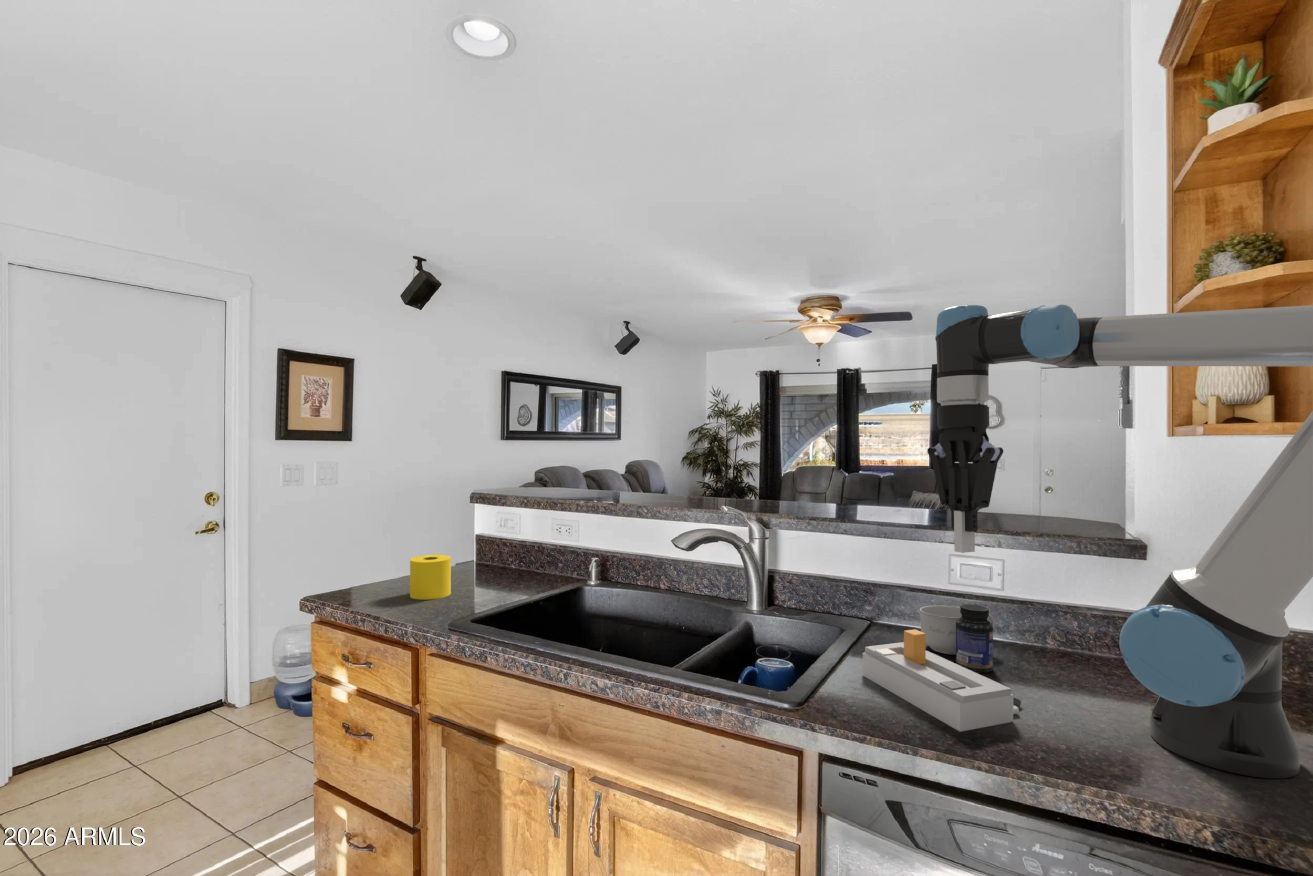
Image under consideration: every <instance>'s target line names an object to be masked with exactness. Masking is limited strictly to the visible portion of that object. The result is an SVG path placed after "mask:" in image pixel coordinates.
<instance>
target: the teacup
mask: <svg viewBox="0 0 1313 876" xmlns="http://www.w3.org/2000/svg"><path fill="white" fill-rule="evenodd" d="M919 613H920V617H919V618H920V619H919V620H920V622H919V623H920V631H921V632H923V633H925V634H926V646H927V645H928V646H929V647H930V649H931V650H933V652H934V651H935V652H936V653H937V652H938V653H940V654H946V655H955V656H956V621H957V619H959V618H961V617H962V614H961V613H960V607H959V606H951V605H940V604H939V605H927V606H922V607H920V608H919ZM987 620H988V621H989V622H990V623H991V624H992V625H993V629H995V625H996V623H995V618H994V617H993V616H992V614H990V613H989V616H988V617H987Z"/></svg>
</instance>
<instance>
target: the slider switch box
mask: <svg viewBox="0 0 1313 876" xmlns="http://www.w3.org/2000/svg"><path fill="white" fill-rule="evenodd" d="M862 676H863V677H865V678H866V679H868V680H870V681H871V682H874V684H877V685H878V686H879V687H882V688H883V689H886V690H887V691H888V692H891V693H892V694H893V695H896V696H897V697H899V698H901V699H903V700H904V701H906V702H908V703H910V704H911V705H913V706H915V707H916V708H918V709H920V710H922V711H923V712H925V713H927V714H928V715H930V716H931V717H934V718H935V719H937V720H939V721H940V722H942V723H944V724H946V725H947V726H949V727H950V728H952V729H954V730H956V731H957V732H967V731H971V730H975V729H982V728H987V727H992V726H999V725H1004V724H1008V723H1013V722H1014V715H1013V697H1014V694H1012V688H1011V687H1008V686H1006V685H1003V684H1002V683H999V682H997V681H995V680H993V679H991V678H988V677H986V676H984V675H981V673H980V674H979V673H978V672H973V671H971V670H969V669H966V668H964V667H962V666H960V665H957V664H956V662H955V663H954V662H953V661H951V660H948V659H946V658H944V657H942V656H940V655H938V654H935V653H933V652H930V651H929V650H926V660H925V664H917V663H915V662H913V661H911V660H909V659H907V658H905V657H904V641H902V642H894V643H893V642H892V643H885V644H876V645H870V646H865V647H864V652H862Z"/></svg>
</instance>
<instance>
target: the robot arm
mask: <svg viewBox="0 0 1313 876" xmlns="http://www.w3.org/2000/svg"><path fill="white" fill-rule="evenodd" d="M935 333H936V334H935V336H934V337H935V338H934V339H935V342H936V343H935V344H936V368H937V369H936V370H937V371H936V373H937V374H936V402H937V403H938V404H940V406H938V408H937V409H936V410H937V411H936V412H937V414H936V415H937V417H936V418H937V423H936V424H937V428H938V429H940V435H939V438H938V443H937V444H936V445H935V446H933V447H928V448H927V451H926V452H927V454H928V457H929V458H930V460H931V462H932V468H933V472H934V477H935V483H936V488H937V492H938V493H937V494H938V497H939V498H938V499H939V503H940V504H941V505H942V506H946V507H948V508H949V510H950V517H951V518H950V519H951V521H950V523H951V524H950V525H951V529H952V530H954V531H953V533H954V535H953V536H954V537H953V538H954V539H953V540H954V542H953V543H954V545H953V547H954V552H956V553H962V554H963V553H972V552H976V549H975V548H976V547H975V545H976V544H975V542H976V541H975V539H976V538H975V537H976V536H975V532H977V531H978V512H979V511H980V510H982V509H987V508H989V507H990V504H991V498H992V493H993V488H994V484H995V483H994V482H995V478H996V473H997V468H998V463H999V461H1000V459H1001V457H1002V456H1003V453H1004V449H1003V447H1000V446H999V447H997V446H995V445H993V444H992V443H991V442H990V438H989V436H988V433H987V428H989V427H990V406H988V404H985V402H988V401H989V400H990V399H989V395H990V394H989V393H990V392H989V391H990V390H989V389H990V388H989V387H990V386H989V371H990V370H989V369H990V368H989V367H990V365H999V364H1006V363H1016V362H1017V363H1018V362H1030V363H1037V364H1043V365H1050V366H1051V365H1052V366H1056V367H1058V368H1063V369H1078V368H1083V367H1313V305H1309V304H1308V305H1295V306H1279V307H1278V306H1277V307H1261V308H1260V307H1257V308H1241V309H1222V310H1221V309H1220V310H1205V311H1204V310H1203V311H1189V312H1188V311H1187V312H1169V313H1168V312H1167V313H1154V314H1153V313H1151V314H1149V313H1147V314H1135V315H1134V314H1133V315H1132V314H1131V315H1117V316H1116V315H1114V316H1102V317H1101V316H1100V317H1099V316H1098V317H1077V314H1076V313H1075V312H1074V310H1073V308H1072V307H1071V306H1069V305H1067V304H1054V305H1053V304H1052V305H1038V306H1037V307H1033V308H1025V309H1022V310H1016V311H1011V312H1006V313H1000V314H995V315H994V314H993V315H989V312H988V309H987V307H986V306H983V305H979V304H966V305H965V304H964V305H955V306H951V307H947V308H945V309H943V310H941V311H940V312H939V313H938V314H937V318H936V332H935ZM1312 579H1313V410H1312V411H1311V413H1310V414H1309V415H1308V416H1307V418H1306V419H1305V420H1304V421H1303V423H1302V424H1301V425H1300V427H1299V429H1298V430H1297V431H1296V432H1295V434H1294V435H1293V436H1292V438H1291V439H1290V440H1289V442H1288V443H1287V444H1286V445H1285V446H1284V449H1283V450H1281V452H1280V454H1279V455H1278V456H1277V458H1276V459H1275V460H1274V461H1273V463H1272V464H1271V466H1270V467H1269V468H1268V469H1267V470H1266V472H1265V474H1264V475H1263V476H1262V477H1261V478H1260V480H1259V482H1257V484H1256V485H1255V486H1254V488H1253V489H1252V490H1251V492H1250V493H1249V495H1248V496H1247V497H1246V499H1245V500H1244V501H1243V503H1241V505H1240V506H1239V508H1238V509H1237V511H1236V512H1235V513H1234V514H1233V516H1232V517H1231V519H1230V520H1229V521H1228V522H1227V524H1226V525H1225V526H1224V528H1223V529H1222V530H1221V532H1220V533H1219V535H1218V536H1217V537H1216V538H1215V540H1214V541H1213V542H1212V544H1211V545H1210V546H1209V548H1208V549H1207V550H1206V551H1205V554H1203V555H1202V557H1201V558H1200V560H1199V561H1198V563H1197V564H1196V565H1194V566H1189V567H1182V568H1174V569H1173V570H1172V571H1171V572H1170V573H1169V574H1168V576H1167V578H1166V579H1165V580H1164V582H1163V583H1162V584H1161V585H1160V587H1159V588H1158V590H1156V592H1155V594H1154V595H1153V596H1152V598H1151V599H1150V600H1149V602H1147V604H1146V606H1145V607H1142V608H1140V609H1138V610H1135V611H1134V612H1133V613H1131V615H1130V616H1129V617H1127V619H1126V620H1125V622H1124V624H1123V625H1122V628H1121V630H1120V634H1119V650H1120V654H1121V655H1122V659H1123V660H1124V663H1125V665H1126V667H1127V668H1128V670H1129V671H1130V673H1131V674H1132V675H1133V676H1134V678H1136V680H1137V681H1139V683H1141V685H1143V686H1144V687H1145V688H1146V689H1148V690H1149V691H1150V692H1152V693H1154V694H1155V695H1157V696H1158V699H1157V700H1156V703H1155V704H1154V707H1153V709H1152V711H1151V713H1150V715H1149V717H1150V718H1149V734H1150V736H1151V738H1152V739H1154V741H1156V743H1158V744H1159V745H1160V746H1162V747H1164V749H1165V748H1166V749H1167V750H1169V751H1171V752H1172V753H1174V754H1176V755H1178V756H1181V757H1183V758H1185V759H1188V760H1191V761H1192V762H1195V763H1198V764H1201V765H1202V766H1203V765H1204V766H1206V767H1210V768H1212V769H1213V768H1214V769H1216V770H1221V771H1224V772H1227V773H1228V772H1229V773H1233V774H1238V775H1243V776H1249V777H1255V778H1262V779H1286V778H1287V779H1288V778H1291V777H1294V776H1296V775H1298V774H1299V773H1300V771H1301V752H1300V749H1299V746H1298V744H1297V742H1296V738H1295V736H1294V734H1293V732H1292V729H1291V726H1290V723H1289V721H1288V719H1287V716H1286V713H1285V711H1284V708H1283V705H1282V690H1283V689H1282V688H1283V687H1282V686H1283V683H1282V682H1283V680H1282V679H1283V641H1284V640H1285V639H1287V638H1286V637H1288V635H1289V634H1290V632H1291V631H1290V630H1291V629H1290V628H1289V625H1288V622H1287V620H1286V618H1285V615H1286V612H1285V611H1286V609H1287V608H1288V607H1289V606H1290V604H1292V602H1293V601H1294V600H1295V599H1296V597H1297V596H1298V595H1299V594H1300V593H1301V591H1303V590H1304V588H1305V587H1306V586H1307V585H1308V584H1309V582H1310V581H1311V580H1312Z"/></svg>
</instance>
